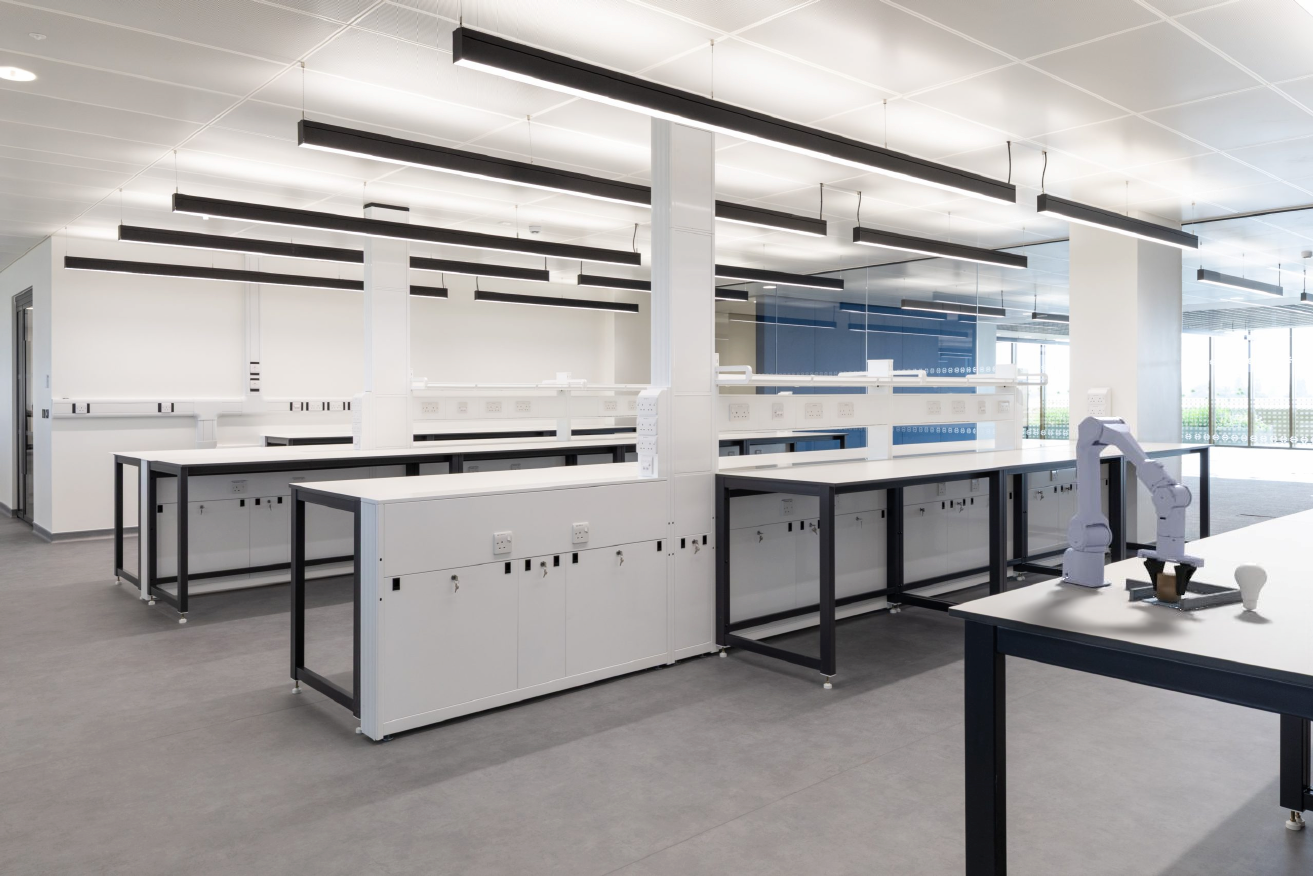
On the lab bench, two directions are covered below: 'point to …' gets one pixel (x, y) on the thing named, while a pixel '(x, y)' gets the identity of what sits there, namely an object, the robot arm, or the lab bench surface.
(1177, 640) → the lab bench surface
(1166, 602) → the pad
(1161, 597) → the walnut cylinder
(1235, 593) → the guide walls
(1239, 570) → the lightbulb
